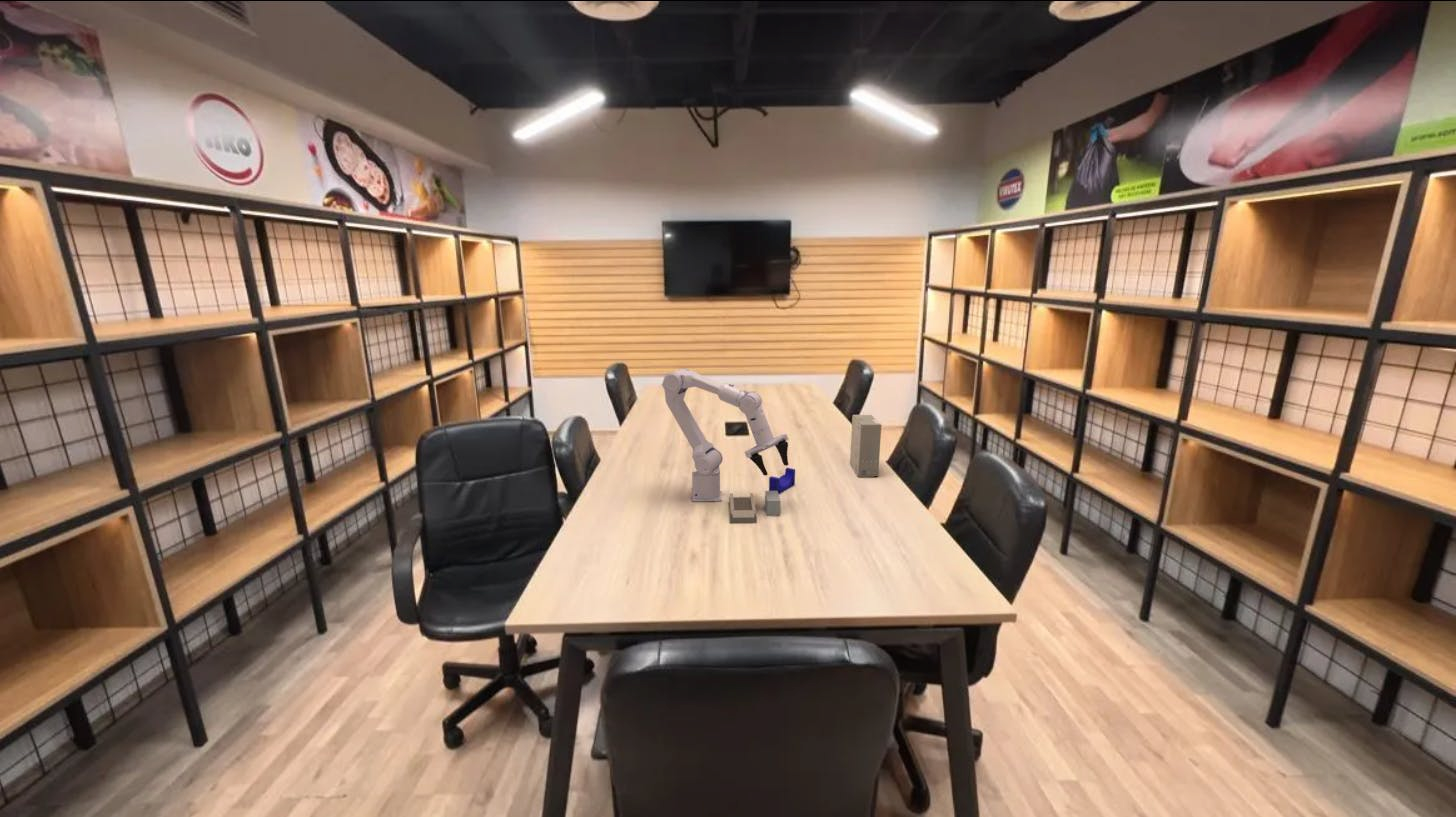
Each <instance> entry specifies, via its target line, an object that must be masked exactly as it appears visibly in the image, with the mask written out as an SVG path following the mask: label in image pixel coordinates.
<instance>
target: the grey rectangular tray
mask: <svg viewBox="0 0 1456 817" xmlns="http://www.w3.org/2000/svg"><path fill="white" fill-rule="evenodd" d="M755 502H756V501H755V496H754V493H753V492H751V493H749V496H734V493H733V492H732V493H731V492H730V493H729V497H728V507H729V508H728V509H729V523H730V524H757V523H758V517H757V511H756V510H757V509H756V503H755Z"/></svg>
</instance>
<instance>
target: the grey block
mask: <svg viewBox="0 0 1456 817" xmlns="http://www.w3.org/2000/svg"><path fill="white" fill-rule="evenodd" d="M764 505H765V506H764V507H765V512H766V516H768V517H770V516H773V517H774V516H775V517H776V516H778V517H779V516H781V498H780V494H778V491H769V490H765V491H764Z"/></svg>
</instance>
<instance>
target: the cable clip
mask: <svg viewBox="0 0 1456 817" xmlns="http://www.w3.org/2000/svg"><path fill="white" fill-rule="evenodd" d="M795 484H796V469H795V468H791V467H786V468H785V472H784V474H783V475H781V476H779V477H777V476H769V477H768V491H778V494H779V495H781V494H783V493H784V492H785V491H787V490H789V489H791V488H793V487H794V486H795Z"/></svg>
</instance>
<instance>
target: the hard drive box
mask: <svg viewBox="0 0 1456 817" xmlns="http://www.w3.org/2000/svg"><path fill="white" fill-rule="evenodd" d="M882 426H883V425H882V424H881V423H880V422H879V421H878V419H877V418H875V417H874V415H872V414H852V417H851V435H850V436H851V437H850V455H849V456H850V457H849V464H850V466H851V468H852V467H853V468H852V469H854V470H853V471H854V473H855V475H856V474H857V475H856V477H857V478H860V477H861V478H862V477H863V478H875V477H874V476H878V477H879V469H880V468H879V466H880V452H881V439H882V438H881V437H882Z"/></svg>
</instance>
